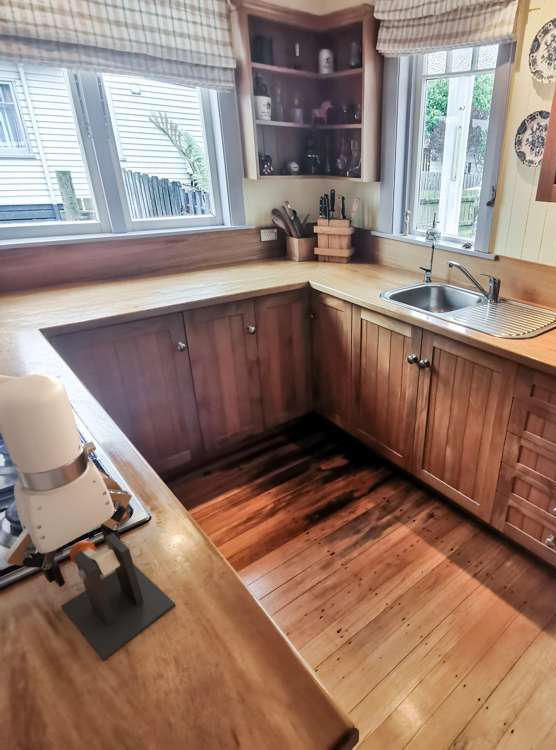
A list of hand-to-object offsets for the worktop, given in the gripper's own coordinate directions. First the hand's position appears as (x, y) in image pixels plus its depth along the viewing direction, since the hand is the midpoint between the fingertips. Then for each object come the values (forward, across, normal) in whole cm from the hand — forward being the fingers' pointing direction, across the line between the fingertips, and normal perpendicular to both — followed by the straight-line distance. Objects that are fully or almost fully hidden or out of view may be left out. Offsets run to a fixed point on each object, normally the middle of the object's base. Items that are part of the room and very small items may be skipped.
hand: (86, 562), depth 68 cm
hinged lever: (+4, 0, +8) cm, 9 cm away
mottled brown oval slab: (+4, -8, -13) cm, 16 cm away
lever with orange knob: (-3, 0, +5) cm, 5 cm away
